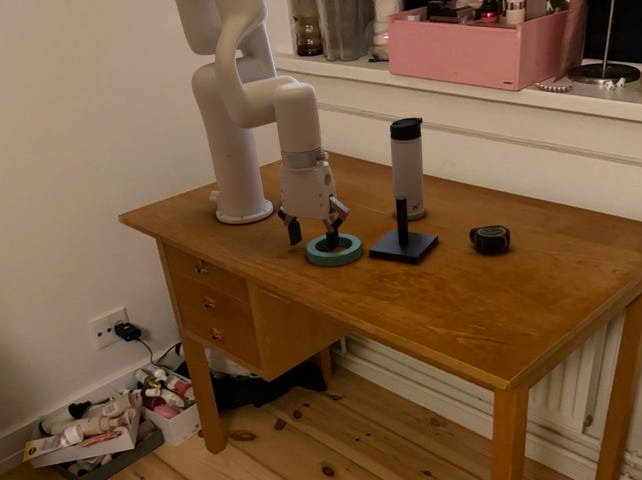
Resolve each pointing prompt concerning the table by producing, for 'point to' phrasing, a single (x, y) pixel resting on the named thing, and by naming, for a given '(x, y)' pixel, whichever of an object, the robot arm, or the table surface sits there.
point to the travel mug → (408, 164)
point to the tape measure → (490, 238)
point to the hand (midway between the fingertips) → (314, 245)
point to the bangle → (334, 258)
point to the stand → (403, 240)
